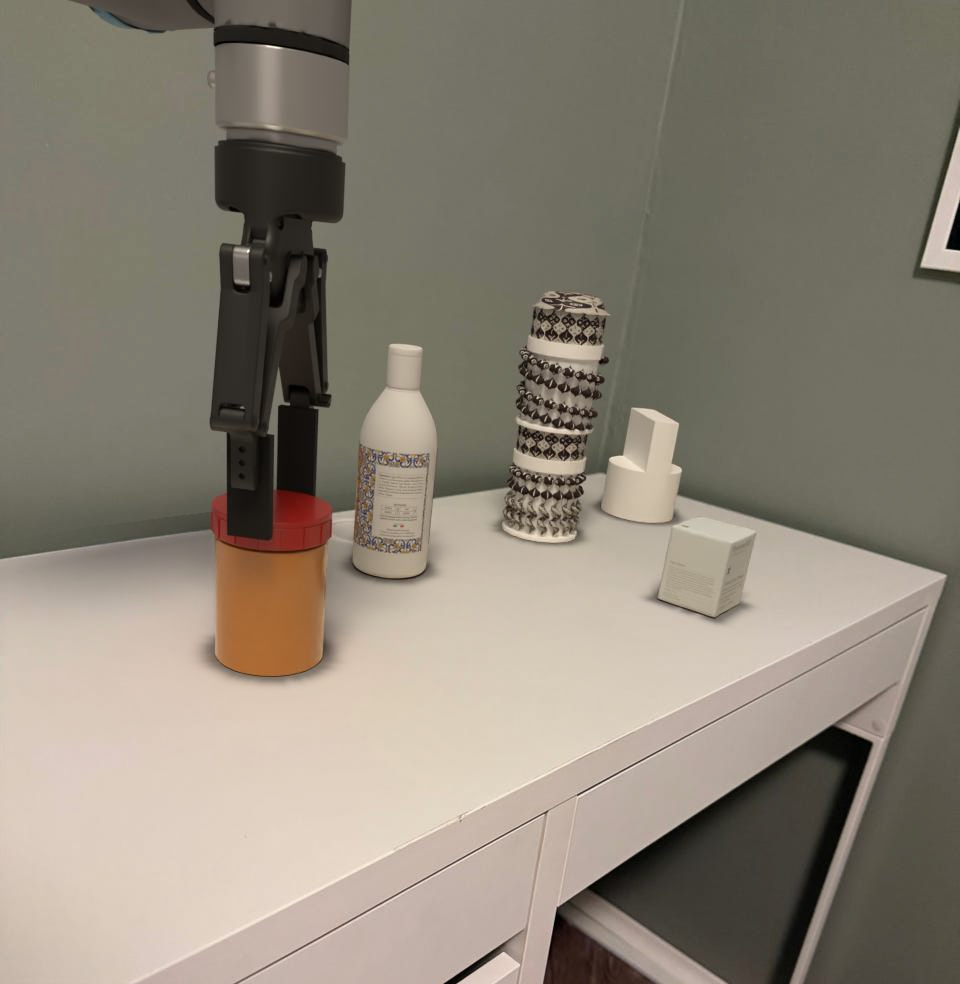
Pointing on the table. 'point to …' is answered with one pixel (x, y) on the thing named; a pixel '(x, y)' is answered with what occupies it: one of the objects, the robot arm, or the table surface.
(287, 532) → the lid
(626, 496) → the cylinder with rectangular tab
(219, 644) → the jam jar
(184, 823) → the table surface
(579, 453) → the decorative candle
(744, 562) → the product box
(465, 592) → the table surface
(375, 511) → the bath foam
